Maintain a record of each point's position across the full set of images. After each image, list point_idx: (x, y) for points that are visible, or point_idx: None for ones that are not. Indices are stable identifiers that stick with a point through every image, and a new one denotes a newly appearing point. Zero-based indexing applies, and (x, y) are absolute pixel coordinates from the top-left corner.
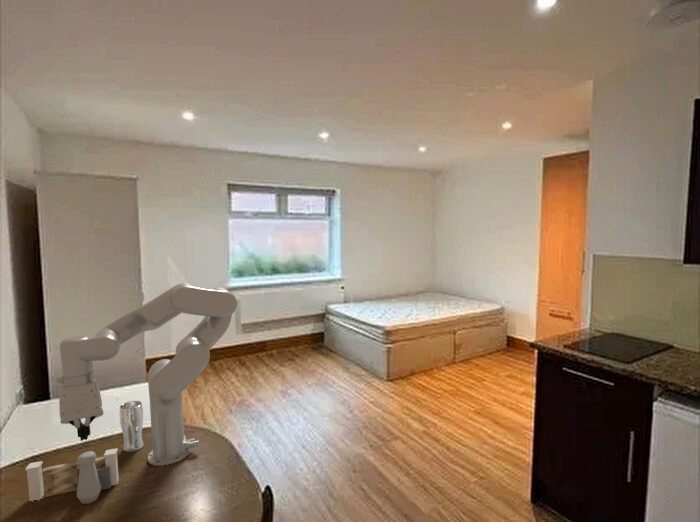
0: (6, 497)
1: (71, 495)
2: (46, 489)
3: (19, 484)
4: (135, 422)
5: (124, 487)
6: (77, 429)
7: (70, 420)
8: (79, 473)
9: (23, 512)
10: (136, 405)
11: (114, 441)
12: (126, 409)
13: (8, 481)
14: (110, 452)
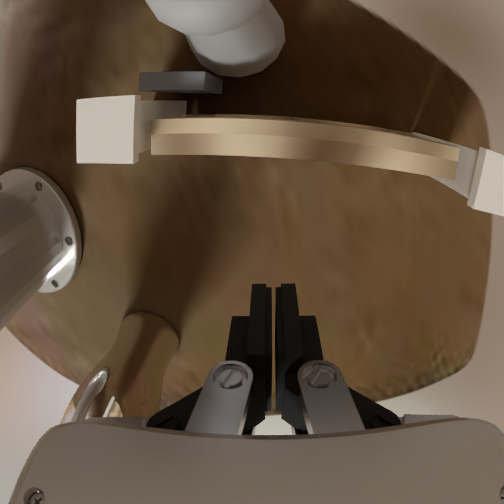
0: None
1: (314, 99)
2: (408, 133)
3: (464, 270)
4: (86, 385)
5: (126, 73)
6: (321, 359)
7: (409, 425)
8: (267, 10)
9: (446, 84)
10: None
11: None
12: None
13: (480, 299)
14: (103, 119)
